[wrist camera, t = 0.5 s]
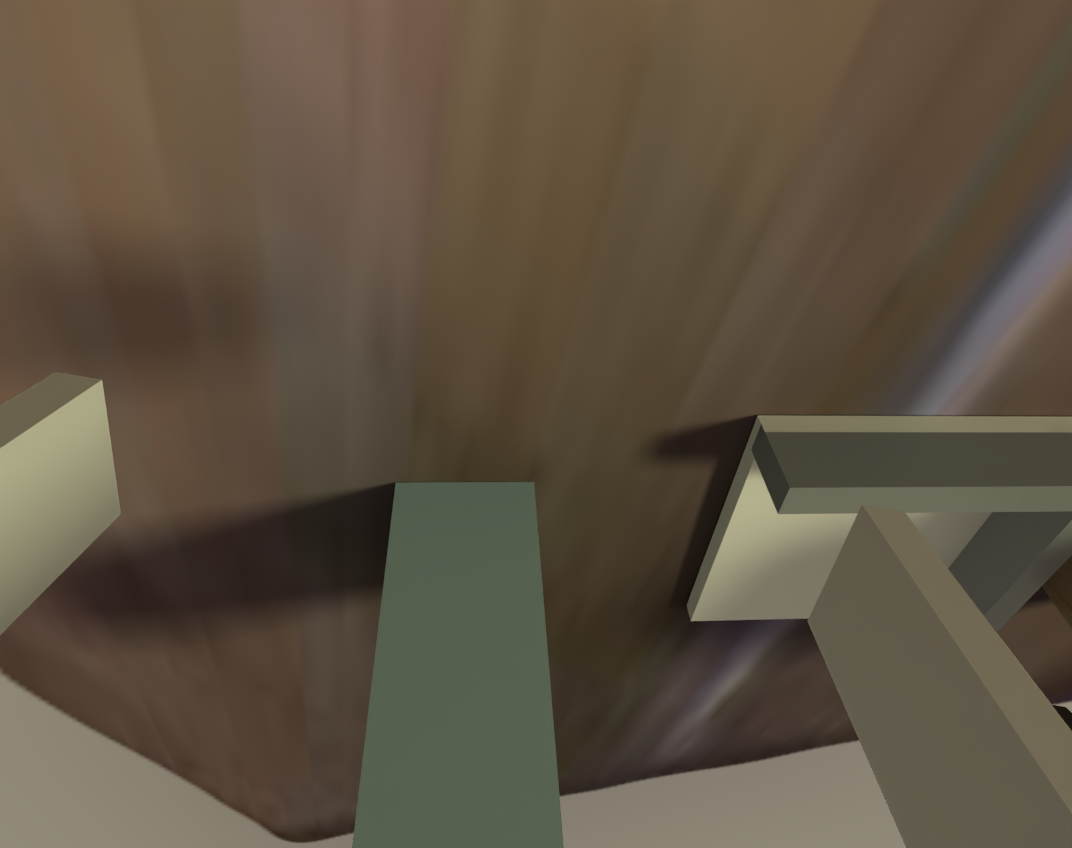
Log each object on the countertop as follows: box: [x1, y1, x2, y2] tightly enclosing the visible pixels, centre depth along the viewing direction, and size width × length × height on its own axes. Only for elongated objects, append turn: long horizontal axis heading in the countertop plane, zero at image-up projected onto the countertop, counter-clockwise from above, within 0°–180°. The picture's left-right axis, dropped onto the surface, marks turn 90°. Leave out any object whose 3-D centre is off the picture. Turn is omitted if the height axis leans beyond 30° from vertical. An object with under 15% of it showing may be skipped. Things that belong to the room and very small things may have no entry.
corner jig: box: [687, 415, 1072, 632], centre depth 32 cm, size 14×14×4 cm
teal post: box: [352, 482, 563, 848], centre depth 26 cm, size 6×6×16 cm
